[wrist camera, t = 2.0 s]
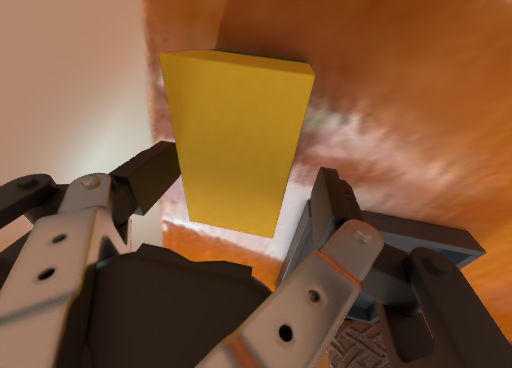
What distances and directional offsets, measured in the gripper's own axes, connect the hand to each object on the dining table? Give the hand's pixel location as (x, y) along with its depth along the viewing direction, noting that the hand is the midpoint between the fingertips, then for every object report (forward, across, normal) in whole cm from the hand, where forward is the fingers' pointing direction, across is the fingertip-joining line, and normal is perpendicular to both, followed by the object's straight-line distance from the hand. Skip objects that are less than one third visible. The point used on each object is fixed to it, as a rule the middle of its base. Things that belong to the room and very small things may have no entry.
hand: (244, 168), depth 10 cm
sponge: (+4, 0, -1) cm, 4 cm away
